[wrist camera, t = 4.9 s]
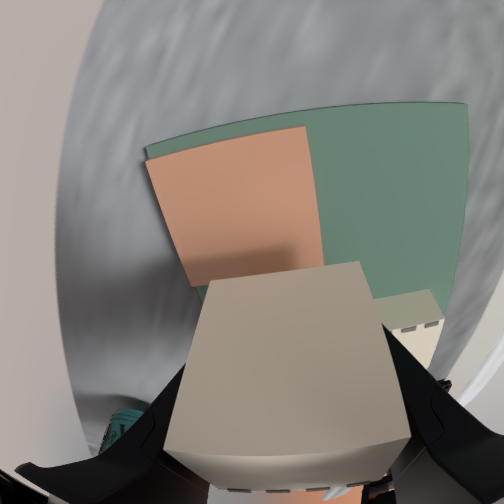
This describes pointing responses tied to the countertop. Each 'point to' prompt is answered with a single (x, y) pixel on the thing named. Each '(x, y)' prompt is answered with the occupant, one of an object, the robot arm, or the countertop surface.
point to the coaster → (241, 205)
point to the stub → (289, 385)
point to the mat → (378, 187)
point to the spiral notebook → (413, 322)
